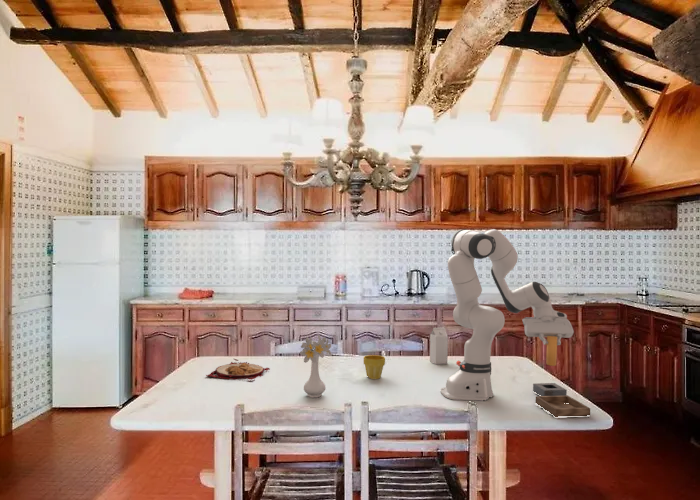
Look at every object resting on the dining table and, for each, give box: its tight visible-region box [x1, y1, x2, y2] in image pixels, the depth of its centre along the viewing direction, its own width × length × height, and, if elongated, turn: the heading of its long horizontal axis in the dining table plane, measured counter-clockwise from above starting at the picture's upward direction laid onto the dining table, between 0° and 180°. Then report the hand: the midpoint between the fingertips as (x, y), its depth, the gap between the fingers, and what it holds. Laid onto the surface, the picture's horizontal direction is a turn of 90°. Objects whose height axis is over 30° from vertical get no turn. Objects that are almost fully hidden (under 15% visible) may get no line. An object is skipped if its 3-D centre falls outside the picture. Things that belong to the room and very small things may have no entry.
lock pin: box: [545, 336, 558, 367], centre depth 222 cm, size 4×4×12 cm
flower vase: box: [299, 334, 332, 399], centre depth 220 cm, size 13×18×25 cm
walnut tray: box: [534, 395, 591, 417], centre depth 206 cm, size 14×16×4 cm
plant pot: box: [363, 354, 386, 380], centre depth 251 cm, size 10×10×10 cm
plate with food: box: [205, 358, 271, 382], centre depth 256 cm, size 25×26×4 cm
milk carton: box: [429, 327, 449, 365], centre depth 281 cm, size 7×7×19 cm
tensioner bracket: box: [532, 382, 568, 396], centre depth 225 cm, size 10×10×4 cm
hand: (552, 344), depth 221 cm, fingers closed on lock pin, 4 cm apart
